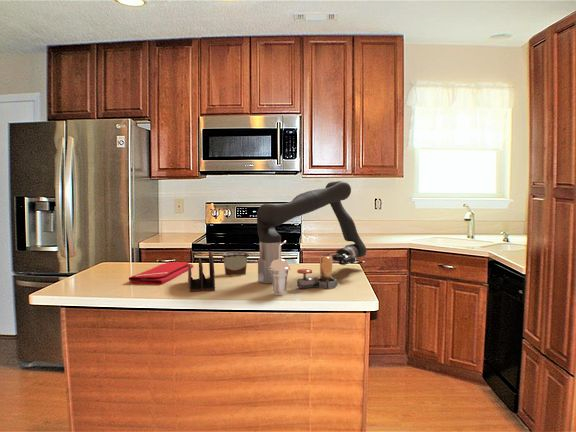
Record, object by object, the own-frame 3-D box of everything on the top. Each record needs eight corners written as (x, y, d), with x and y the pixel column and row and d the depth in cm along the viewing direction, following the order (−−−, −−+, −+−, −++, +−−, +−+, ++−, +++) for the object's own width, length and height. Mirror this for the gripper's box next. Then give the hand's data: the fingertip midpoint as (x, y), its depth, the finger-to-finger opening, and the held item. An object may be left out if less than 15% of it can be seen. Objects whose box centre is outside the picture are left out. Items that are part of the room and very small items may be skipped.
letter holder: (211, 281, 217) (211, 248, 215) (215, 291, 197) (214, 256, 196) (188, 282, 214) (187, 249, 213) (189, 292, 195) (188, 257, 194)
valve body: (303, 291, 197) (303, 272, 196) (292, 286, 205) (293, 269, 204) (340, 286, 204) (341, 269, 204) (329, 282, 213) (329, 265, 212)
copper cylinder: (323, 287, 203) (323, 258, 202) (317, 285, 208) (317, 256, 207) (334, 286, 206) (334, 257, 205) (328, 283, 210) (328, 255, 209)
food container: (245, 271, 237) (245, 250, 236) (248, 274, 231) (248, 252, 230) (219, 273, 233) (219, 252, 232) (222, 275, 227) (222, 254, 226)
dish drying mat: (194, 268, 249) (194, 260, 249) (163, 285, 208) (163, 277, 208) (163, 267, 251) (163, 260, 251) (127, 284, 211) (127, 276, 210)
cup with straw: (264, 293, 194) (263, 241, 192) (283, 290, 199) (283, 240, 197) (276, 297, 187) (276, 244, 185) (295, 294, 192) (295, 242, 190)
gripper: (330, 246, 233) (319, 251, 219) (360, 248, 228) (350, 253, 213) (330, 262, 234) (318, 268, 219) (360, 264, 228) (350, 270, 213)
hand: (334, 260), depth 216 cm, fingers open, 8 cm apart
